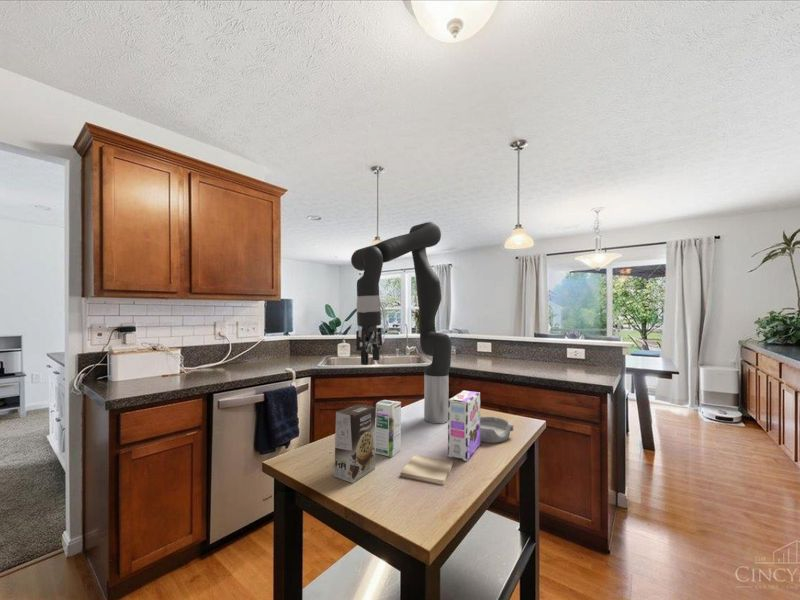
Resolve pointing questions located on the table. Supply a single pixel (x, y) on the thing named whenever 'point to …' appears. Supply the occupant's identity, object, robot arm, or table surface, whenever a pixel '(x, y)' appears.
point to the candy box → (463, 425)
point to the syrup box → (388, 427)
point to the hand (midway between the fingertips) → (370, 362)
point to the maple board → (427, 469)
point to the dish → (494, 429)
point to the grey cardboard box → (354, 442)
